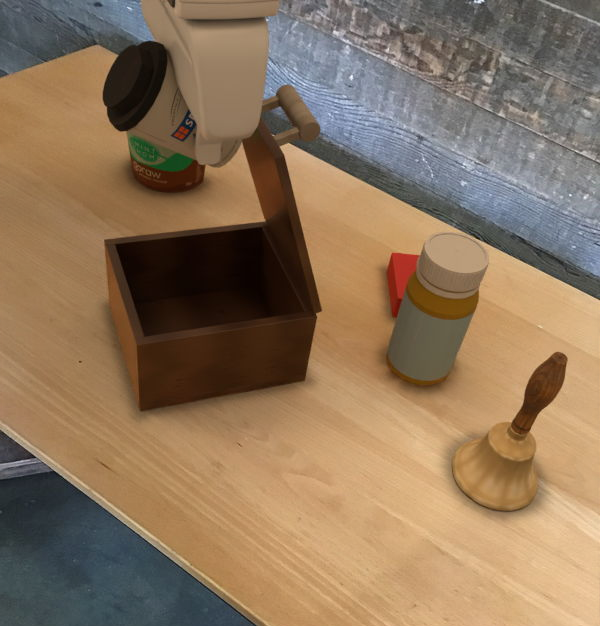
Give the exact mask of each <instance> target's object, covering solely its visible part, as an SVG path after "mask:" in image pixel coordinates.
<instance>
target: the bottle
mask: <svg viewBox="0 0 600 626" xmlns="http://www.w3.org/2000/svg"><path fill="white" fill-rule="evenodd" d="M419 255H420V258H419V263H418V265H417V268H416V270H415V271H414V272H413V274H412V275H411V276H410V277H409V280H408V283H407V285H406V289H405V292H404V295H403V299H402V302H401V305H400V309H399V312H398V315H397V317H396V319H395V322H394V326H393V329H392V332H391V335H390V339H389V342H388V345H387V349H386V355H385V356H386V357H385V358H386V362H387V364H388V366H389V368H390V369H391V370H392V372H393V373H394V374H395V375H397V377H399V378H400V379H401V380H403V381H405V382H407V383H408V384H413V385H417V386H430V385H435V384H438V383H441V382H442V381H444V380H445V379H447V378H448V376H449V375H450V373H451V371H452V369H453V367H454V364H455V361H456V359H457V356H458V354H459V352H460V349H461V347H462V344H463V342H464V340H465V337H466V335H467V332H468V330H469V327H470V324H471V322H472V319H473V317H474V315H475V312H476V309H477V307H478V304H479V300H480V289H479V288H480V286H481V283H482V282H483V280H484V278H485V275H486V272H487V271H488V267H489V264H490V254H489V251H488V249H487V247H485V246H484V245H483V244H482V243H481V242H480V241H479V240H477V239H476V238H474V237H473V236H470V235H467V234H465V233H461V232H459V231H451V230H447V231H446V230H445V231H443V230H442V231H438V232H434V233H432V234H430V235H429V236H427V238H426V240H425V241H424V243H423V245H422V248H421V252H420V254H419Z"/></svg>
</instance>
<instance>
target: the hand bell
mask: <svg viewBox="0 0 600 626" xmlns="http://www.w3.org/2000/svg"><path fill="white" fill-rule="evenodd" d="M568 361H569V358H568V356H567V355H566V354H565V353H564V352H560V351H555V352H553V353H552V354H551V355H550V356H549V357H548V358H547V359H546V360H544V361H542V363H540V364H539V365H538V366H537V367H536V368H535V369H534V370H533V372H532V374H531V376H530V377H529V379H528V381H527V384H526V387H525V389H524V394H523V401H522V405H521V407H520V408H519V410H518V412H517V413H516V415H515V416H514V418H513V419H512V420H511V421H502V422H498V423H496V424H494V425H492V426H491V428H490V429H489V430H488V431H487V433H486V435H485V436H484V437H481V438H476V439H472V440H470V441H467V442H465V443H464V444H462V445H461V446H459V448H458V449H457V450H456V452H455V453H454V455H453V458H452V460H451V461H452V462H451V469H452V475H453V478H454V480H455V482H456V484H457V486H458V487H459V489H460V490H461V491H462V492H463V493H464V494H465V495H466V496H467V497H469V498H470V499H471V500H472V501H474V502H475V503H477V504H479V505H481V506H483V507H484V508H485V507H486V508H488V509H491V510H494V511H495V510H496V511H505V512H511V511H517V510H520V509H523V508H525V507H526V506H528V505H529V504H530V503H531V502H532V501H534V499H535V498H536V496H537V493H538V490H539V477H538V473H537V470H536V469H535V468H536V467H535V466H534V464H533V461H534V459H535V458H534V457H535V455H536V452H537V441H536V438H535V437H534V435H533V434H532V433H531V429H532V427H533V425H534V423H535V421H536V419H537V417H538V416H539V414H540V413H541V412H542V411H543V410H544V409H546V408H547V407H548V406H549V405H550V404H551V403H553V401H555V399H556V397H557V396H558V395H559V393H560V392H561V389H562V388H563V385H564V383H565V379H566V371H567V365H568Z"/></svg>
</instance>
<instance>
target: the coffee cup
mask: <svg viewBox="0 0 600 626" xmlns="http://www.w3.org/2000/svg"><path fill="white" fill-rule="evenodd" d="M102 102H103V105H104V106H105V107H106V117H107V118H108V121H109V123H110V124H111V126H112V127H113V128H114V129H115V130H116V131H118V132H119V133H121V132H126V131H127V132H129V133H132V134H134V135H137V136H139V137H141V138H144V139H146V140H149V141H151V142H153V143H156V144H158V145H161V146H163V147H165V148H168V149H170V150H173V151H175V152H177V153H180V154H182V155H185V156H187V157H190V158H192V159H194V160H197V159H196V157H195V154H194V152H193V134H196V130H197V124H196V122H195V120H194V118H193V116H192V114H191V112H190V110H189V108H188V106H187V104H186V102H185V100H184V98H183V96H182V94H181V92H180V90H179V88H178V86H177V83H176V80H175V76H174V71H173V67H172V63H171V59H170V57H169V55H168V53H167V51H166V49H165V47H164V45H163V44H161V43H159V42H155V40H146V41H142V42H141V43H139V44H138V45H135V44H132V45H128V46H127V47H125V49H123V50H122V51H121V52H120V53H119V54H118V55H117V56H116V58H115V60H114V61H113V63H112V64H111V66H110V68H109V70H108V72H107V75H106V77H105V81H104V83H103V89H102ZM127 132H126V133H127ZM242 140H243V139H237V140H226V141H222V143H221V159H220V161H219V162H218V163H216V164H209V165H208V166H209V167H212V168H214V169H218V168H222V167H224V166H226V165H227V164H228V163H229V162H230V161H232V159H233V158H234V157H235V156H236V154H237V153H238V151H239V149H240V147H241V145H242Z"/></svg>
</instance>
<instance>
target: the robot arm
mask: <svg viewBox="0 0 600 626" xmlns="http://www.w3.org/2000/svg"><path fill="white" fill-rule="evenodd" d="M280 1H281V0H140V6H141V12H142V13H141V14H142V17H143V20H144V22H145V24H146V26H147V28H148V30H149V33H150V34H151V36H152V38H153V41H155V42H159V43H161V44H163V45H164V47H165V49H166V51H167V53H168V55H169V57H170V59H171V63H172V67H173V71H174V76H175V80H176V83H177V86H178V88H179V90H180V92H181V94H182V96H183V98H184V100H185V102H186V104H187V106H188V108H189V110H190V112H191V114H192V116H193V118H194V120H195V122H196V124H197V130H196V134H193V152H194V154H195V157H196V159H197V161H198V163H199V164H201V165H206V166H209V164H216V163H218V162H219V161H220V159H221V143H222V141H226V140H237V139H245V138H249V137H250V136H251V135H252V134H253V133H254V131H255V130H256V128H257V126H258V124H259V120H260V115H261V116H262V114H261V109H262V102H263V100H264V94H265V87H266V79H267V72H268V71H267V70H268V62H269V51H270V50H269V49H270V48H269V47H270V35H269V33H270V32H269V26H268V21H267V17H268V18H269V17H274V16H277V15H278V13H279V9H280Z"/></svg>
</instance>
